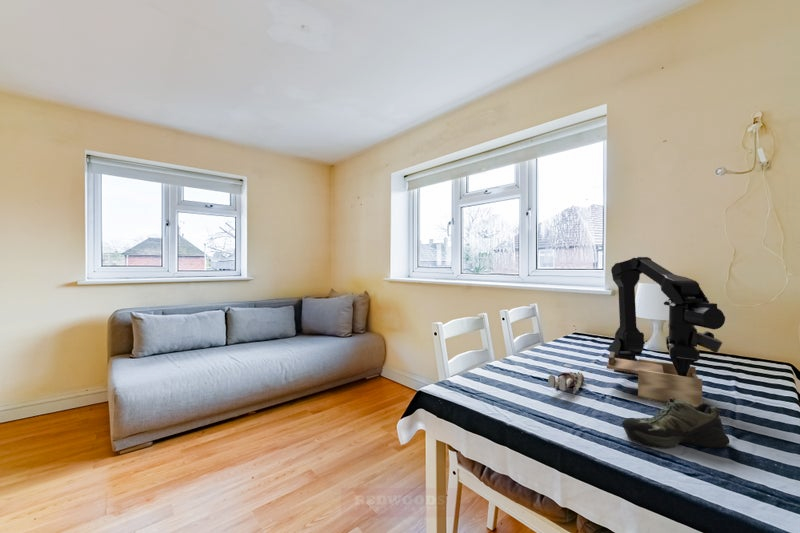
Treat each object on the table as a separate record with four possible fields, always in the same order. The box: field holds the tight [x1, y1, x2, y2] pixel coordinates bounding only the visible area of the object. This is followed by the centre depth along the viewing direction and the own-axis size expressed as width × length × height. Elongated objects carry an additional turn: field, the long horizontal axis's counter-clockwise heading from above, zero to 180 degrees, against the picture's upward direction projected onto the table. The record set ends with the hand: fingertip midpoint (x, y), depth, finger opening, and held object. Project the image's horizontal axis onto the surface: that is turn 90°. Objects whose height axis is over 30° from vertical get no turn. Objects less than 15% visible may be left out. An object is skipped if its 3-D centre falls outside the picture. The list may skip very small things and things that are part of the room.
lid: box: [606, 351, 664, 375], centre depth 103 cm, size 14×12×3 cm
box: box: [637, 358, 703, 407], centre depth 99 cm, size 14×14×8 cm
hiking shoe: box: [621, 398, 730, 449], centre depth 75 cm, size 8×21×9 cm, turn 89°
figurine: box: [547, 371, 585, 395], centre depth 104 cm, size 6×6×20 cm
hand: (680, 375), depth 97 cm, fingers open, 9 cm apart
